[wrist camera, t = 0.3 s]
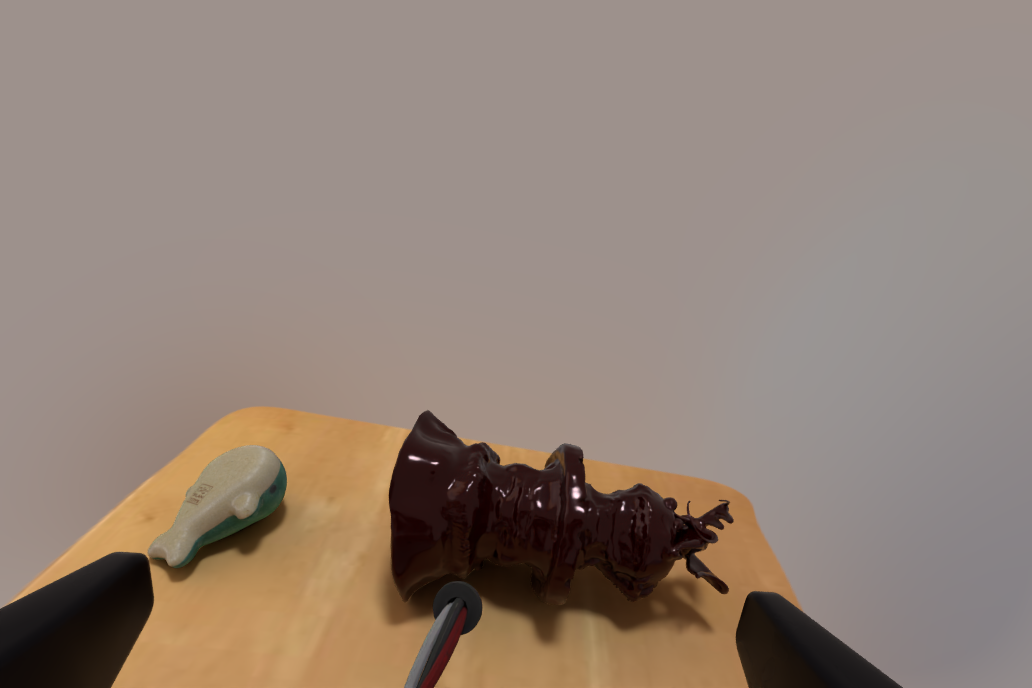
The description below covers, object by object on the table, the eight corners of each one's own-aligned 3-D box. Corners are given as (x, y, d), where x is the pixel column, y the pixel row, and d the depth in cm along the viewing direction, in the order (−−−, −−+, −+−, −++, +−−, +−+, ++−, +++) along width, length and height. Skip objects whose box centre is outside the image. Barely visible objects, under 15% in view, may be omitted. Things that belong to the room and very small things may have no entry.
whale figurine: (224, 432, 32) (259, 472, 34) (114, 537, 27) (163, 578, 29) (289, 441, 29) (323, 485, 31) (179, 562, 24) (228, 605, 26)
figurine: (386, 588, 32) (675, 632, 33) (358, 608, 22) (769, 671, 23) (421, 428, 35) (681, 473, 36) (410, 386, 26) (764, 448, 27)
